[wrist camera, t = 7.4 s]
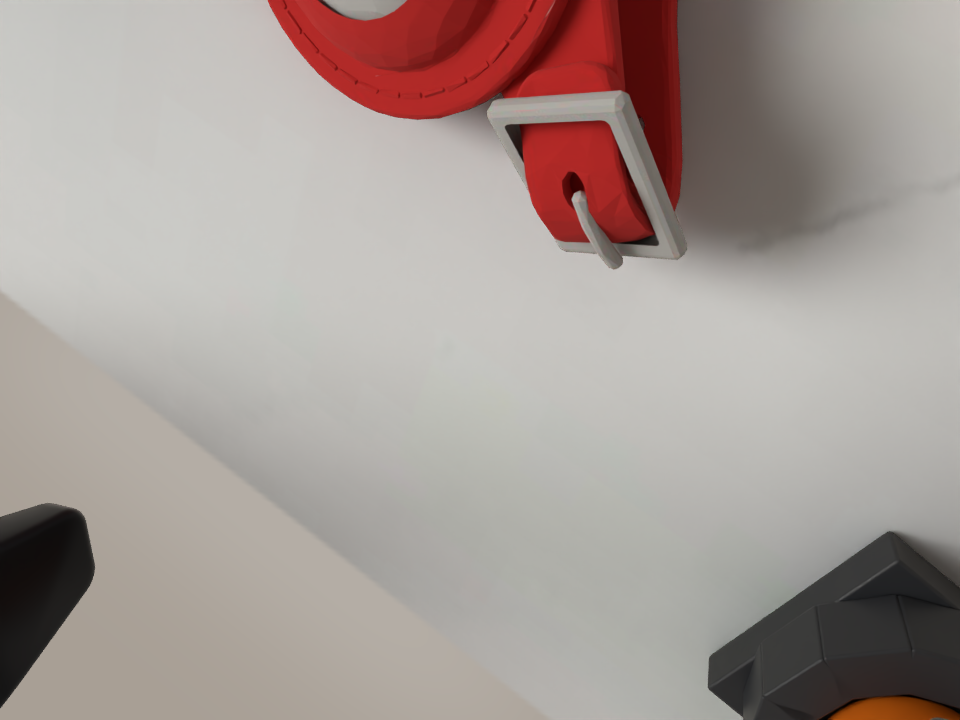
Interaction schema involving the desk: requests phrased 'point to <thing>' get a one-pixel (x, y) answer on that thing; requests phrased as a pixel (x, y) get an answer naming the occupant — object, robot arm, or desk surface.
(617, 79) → the tracker holder
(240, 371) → the desk surface
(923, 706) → the button
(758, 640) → the button box
